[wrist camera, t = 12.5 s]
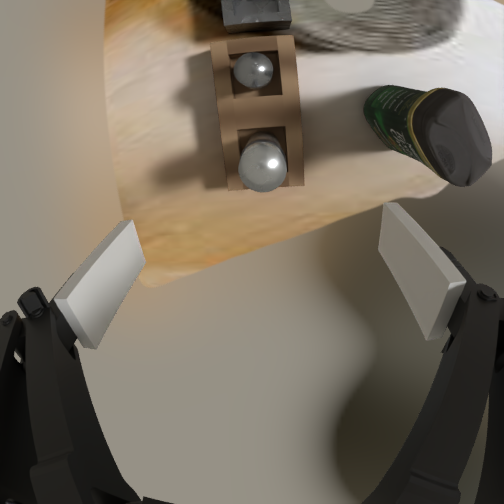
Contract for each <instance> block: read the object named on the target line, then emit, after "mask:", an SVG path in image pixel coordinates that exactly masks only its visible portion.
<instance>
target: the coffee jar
mask: <svg viewBox="0 0 504 504" xmlns="http://www.w3.org/2000/svg"><path fill="white" fill-rule="evenodd" d="M364 115H365V117H366V119H367V121H368V123H369V124H370V126H371V127H372V129H373V130H374V131H375V133H376V134H377V135H378V137H379V138H380V139H381V140H382V141H383V142H384V143H385V144H386V145H387V146H388V147H389V148H390V149H392V150H394V151H396V152H399V153H401V154H404V155H407V156H409V157H411V158H413V159H415V160H418V161H420V162H421V163H423V164H424V165H426V166H427V167H428V168H429V169H431V170H432V171H433V172H434V173H435V174H437V175H438V176H439V177H440V178H442V179H444V180H446V181H448V182H449V183H451V184H453V185H455V186H460V187H465V186H471V185H472V184H473V183H475V182H476V181H477V180H478V179H479V178H480V177H481V176H482V175H483V174H484V173H485V172H486V171H487V170H488V169H489V168H490V166H491V165H492V147H491V142H490V139H489V136H488V133H487V130H486V128H485V126H484V123H483V121H482V119H481V117H480V115H479V113H478V111H477V109H476V107H475V106H474V104H473V102H472V101H471V100H470V98H469V97H468V96H466V95H465V94H463V93H461V92H458V91H454V90H451V89H447V88H435V89H432V90H430V91H428V92H425V91H420V90H415V89H410V88H405V87H400V86H394V85H386V86H383V87H381V88H379V89H378V90H377V91H375V92H374V93H373V94H372V95H371V96H370V97H369V98H368V99H367V101H366V102H365V105H364Z"/></svg>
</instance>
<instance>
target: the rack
mask: <svg viewBox="0 0 504 504" xmlns="http://www.w3.org/2000/svg"><path fill="white" fill-rule="evenodd" d="M210 48H211V57H212V66H213V74H214V83H215V91H216V99H217V107H218V115H219V123H220V131H221V139H222V147H223V154H224V162H225V169H226V177H227V184H228V191H232V190H244V189H249V188H248V187H247V186H246V185H245V184H244V183H243V182H242V180H241V179H240V176H239V172H238V167H239V161H240V156H241V153H242V151H243V149H244V148H245V146H246V145H247V142H248V140H249V138H250V137H251V136H252V135H253V134H254V133H256V132H259V131H268V132H271V133H272V134H274V135H275V136H276V137H277V139H278V141H279V144H280V147H281V148H282V150H283V152H284V154H285V158H286V167H287V172H286V177H285V179H284V181H283V182H282V184H281V185H280V186H279V187H288V186H304V160H303V140H302V124H301V110H300V97H299V85H298V74H297V64H296V55H295V46H294V38H293V35H282V36H263V37H251V38H241V39H233V40H226V41H219V42H213V43H210ZM251 52H257V53H261V54H263V55H265V56H266V57H267V58H268V59H269V60H270V61H271V63H272V66H273V74H272V79H271V82H270V83H269V85H268V86H266V87H265V88H263V89H260V90H253V89H250V88H248V87H246V86H244V85H243V84H241V83H240V82H239V81H238V80H237V79H236V77H235V74H234V65H235V63H236V61H237V60H238V59H239V58H240V57H241V56H242V55H244V54H246V53H251Z"/></svg>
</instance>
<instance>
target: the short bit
mask: <svg viewBox="0 0 504 504" xmlns="http://www.w3.org/2000/svg"><path fill="white" fill-rule="evenodd" d="M234 74H235V77H236V79H237V80H238V81H239V82H240V83H241V84H243V85H244V86H246V87H248V88H250V89H253V90H260V89H263V88H265V87H266V86H268V85H269V83H270V82H271V79H272V74H273V66H272V63H271V61H270V60H269V59H268V58H267V57H266V56H265V55H263V54H261V53H257V52H251V53H246V54H244V55H242V56H241V57H240V58H239V59H238V60H237V61H236V63H235V65H234Z"/></svg>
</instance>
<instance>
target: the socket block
mask: <svg viewBox="0 0 504 504" xmlns="http://www.w3.org/2000/svg"><path fill="white" fill-rule="evenodd" d="M221 3H222V12H223V21H224V26H225V28H226V30H227V31H228V33H229V34H230V33H238V32H247V31H258V30H273V29H289V27H290V24H291V21H292V18H291V11H290V4H289V0H221Z"/></svg>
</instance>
